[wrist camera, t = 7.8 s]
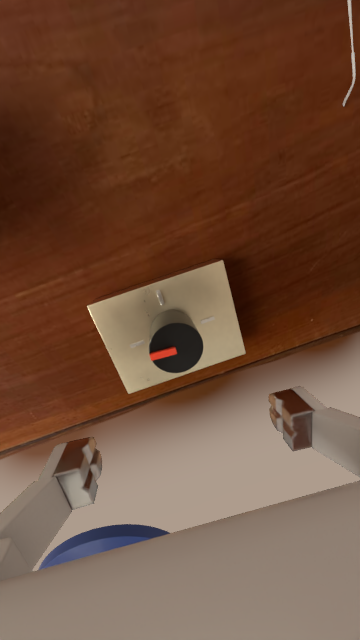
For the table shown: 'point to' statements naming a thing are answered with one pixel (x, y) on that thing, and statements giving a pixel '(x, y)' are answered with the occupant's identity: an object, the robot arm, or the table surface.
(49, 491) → the robot arm
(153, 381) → the panel
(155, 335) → the knob
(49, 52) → the table surface
